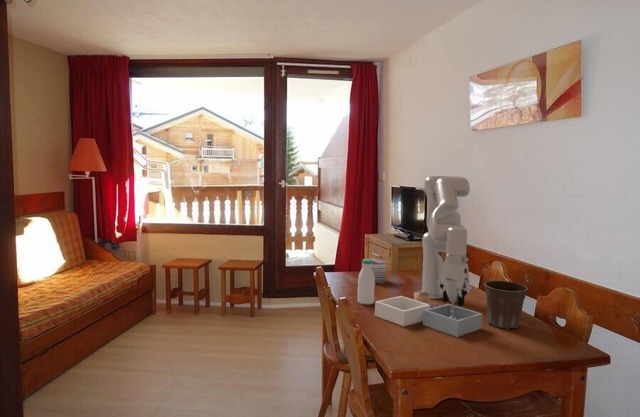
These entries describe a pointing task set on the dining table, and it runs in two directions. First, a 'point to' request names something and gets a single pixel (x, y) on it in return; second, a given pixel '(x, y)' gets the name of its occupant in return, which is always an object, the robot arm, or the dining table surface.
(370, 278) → the milk bottle
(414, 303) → the frame
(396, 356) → the dining table surface
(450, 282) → the chalice
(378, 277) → the can
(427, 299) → the terracotta pot
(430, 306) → the walnut block
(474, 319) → the frame
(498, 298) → the plant pot
